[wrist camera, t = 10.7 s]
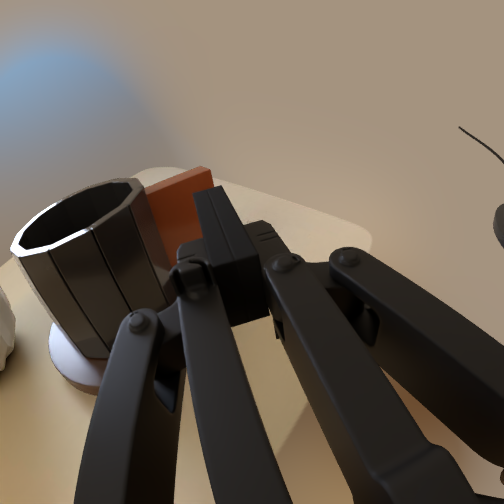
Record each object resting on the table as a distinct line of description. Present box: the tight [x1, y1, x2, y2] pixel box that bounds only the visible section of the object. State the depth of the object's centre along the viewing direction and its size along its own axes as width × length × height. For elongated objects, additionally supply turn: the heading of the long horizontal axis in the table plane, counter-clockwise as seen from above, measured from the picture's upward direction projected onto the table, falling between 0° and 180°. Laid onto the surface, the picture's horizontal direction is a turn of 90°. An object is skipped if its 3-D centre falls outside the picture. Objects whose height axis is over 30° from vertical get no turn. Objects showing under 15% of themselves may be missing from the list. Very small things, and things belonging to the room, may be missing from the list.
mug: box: [10, 166, 214, 358], centre depth 21 cm, size 12×15×10 cm
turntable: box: [49, 322, 109, 396], centre depth 24 cm, size 16×16×2 cm
